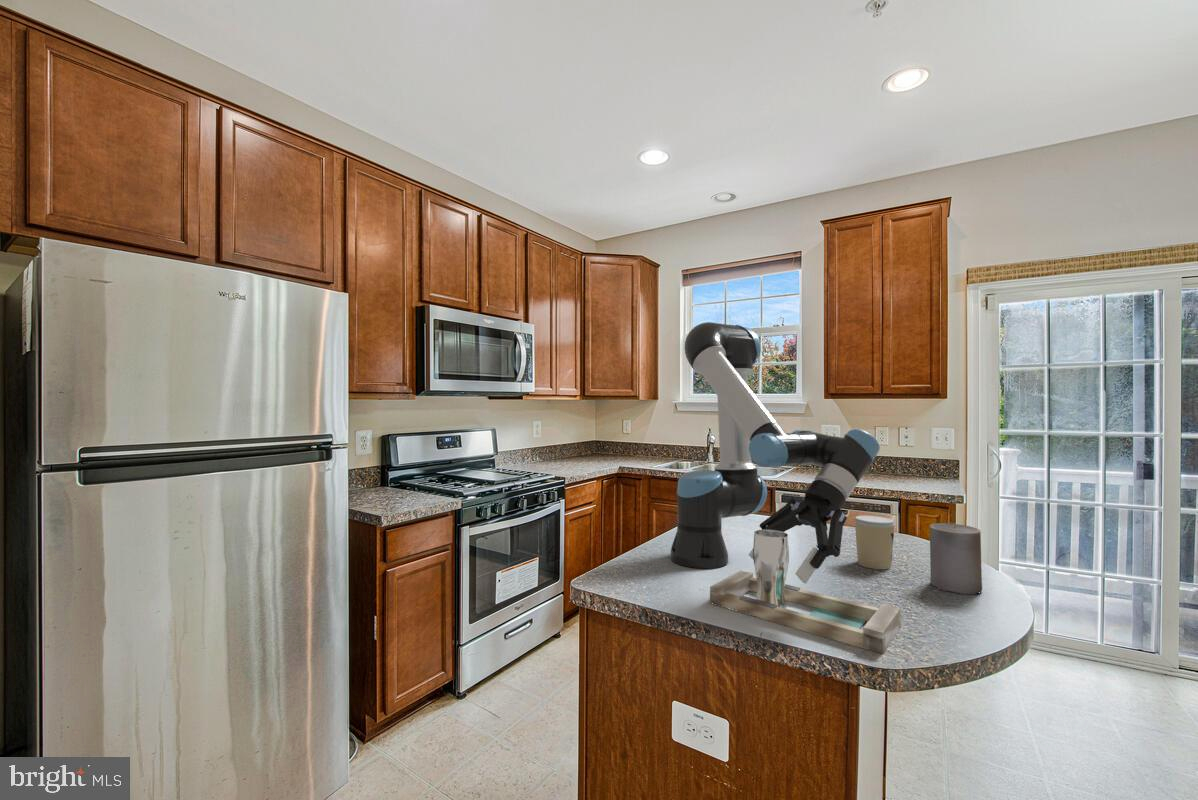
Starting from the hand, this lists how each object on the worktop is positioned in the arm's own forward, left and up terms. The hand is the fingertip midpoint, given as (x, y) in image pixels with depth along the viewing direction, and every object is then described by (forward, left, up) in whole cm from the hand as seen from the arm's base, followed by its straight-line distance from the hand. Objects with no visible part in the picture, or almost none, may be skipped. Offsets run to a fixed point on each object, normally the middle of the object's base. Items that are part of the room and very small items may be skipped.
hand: (775, 568), depth 103 cm
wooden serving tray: (+5, 0, -8) cm, 9 cm away
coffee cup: (+8, +46, -8) cm, 48 cm away
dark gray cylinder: (+26, +40, -8) cm, 49 cm away
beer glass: (-1, 0, -8) cm, 8 cm away
